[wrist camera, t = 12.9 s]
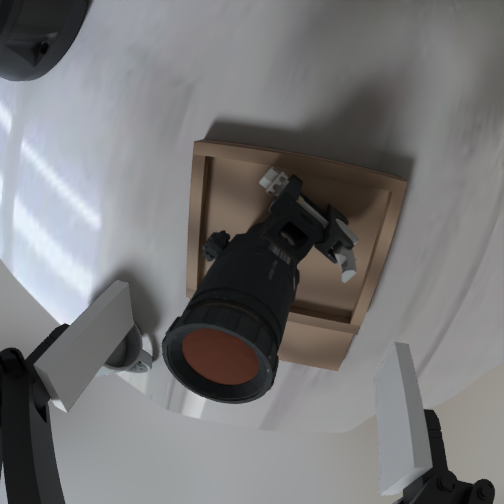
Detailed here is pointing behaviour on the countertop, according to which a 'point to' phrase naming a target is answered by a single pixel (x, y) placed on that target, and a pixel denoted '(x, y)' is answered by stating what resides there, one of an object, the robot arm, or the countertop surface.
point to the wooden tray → (315, 263)
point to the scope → (252, 295)
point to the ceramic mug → (128, 356)
